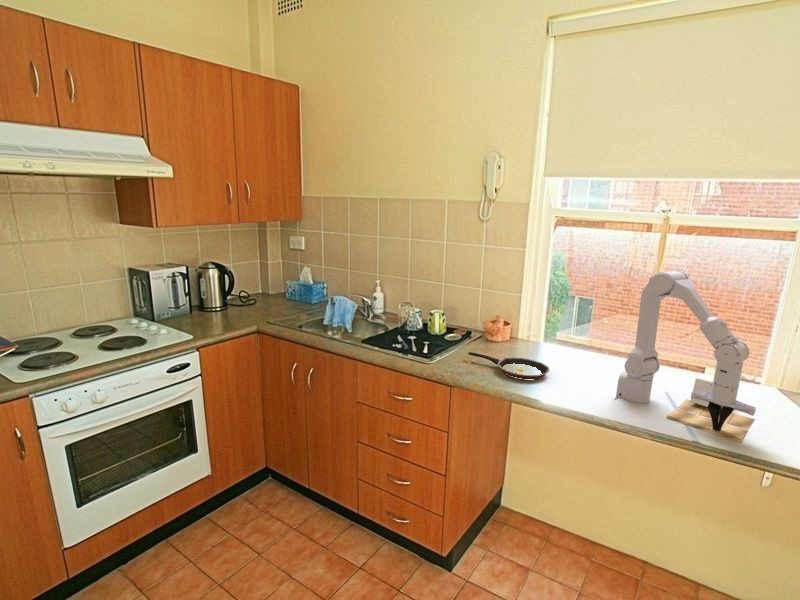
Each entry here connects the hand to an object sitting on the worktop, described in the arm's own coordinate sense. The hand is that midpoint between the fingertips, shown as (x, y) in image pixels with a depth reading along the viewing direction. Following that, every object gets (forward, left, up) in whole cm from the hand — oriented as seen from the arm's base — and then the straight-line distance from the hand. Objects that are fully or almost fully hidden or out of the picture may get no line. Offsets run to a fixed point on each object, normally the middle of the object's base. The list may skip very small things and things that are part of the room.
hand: (716, 429), depth 125 cm
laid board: (-3, +13, -2) cm, 14 cm away
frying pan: (-67, -3, -2) cm, 67 cm away
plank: (-3, +3, -1) cm, 4 cm away
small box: (-5, +24, +2) cm, 25 cm away
